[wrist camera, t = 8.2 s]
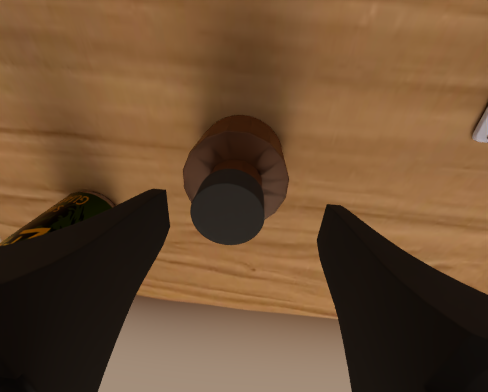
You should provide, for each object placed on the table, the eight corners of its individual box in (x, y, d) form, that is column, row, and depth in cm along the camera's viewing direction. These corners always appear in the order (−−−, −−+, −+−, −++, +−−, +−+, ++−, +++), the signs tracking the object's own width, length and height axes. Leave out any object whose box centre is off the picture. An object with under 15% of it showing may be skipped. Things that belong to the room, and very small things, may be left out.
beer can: (133, 225, 24) (35, 350, 14) (93, 239, 25) (-25, 364, 15) (98, 180, 22) (-53, 289, 11) (56, 198, 23) (-115, 312, 12)
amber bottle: (288, 118, 18) (302, 147, 12) (276, 196, 21) (282, 249, 15) (199, 111, 18) (168, 135, 12) (201, 189, 21) (177, 239, 15)
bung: (267, 163, 14) (268, 186, 11) (260, 217, 16) (260, 248, 13) (202, 157, 14) (188, 179, 11) (203, 212, 16) (191, 242, 13)
